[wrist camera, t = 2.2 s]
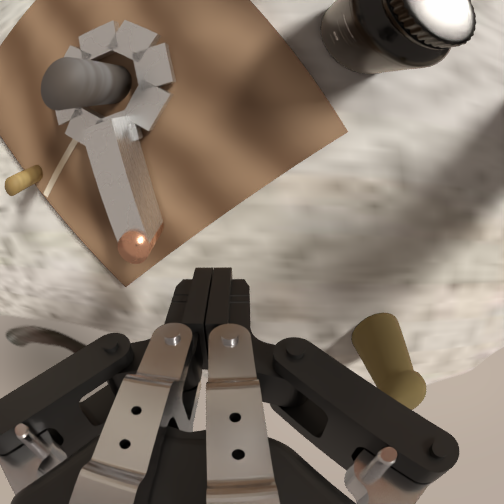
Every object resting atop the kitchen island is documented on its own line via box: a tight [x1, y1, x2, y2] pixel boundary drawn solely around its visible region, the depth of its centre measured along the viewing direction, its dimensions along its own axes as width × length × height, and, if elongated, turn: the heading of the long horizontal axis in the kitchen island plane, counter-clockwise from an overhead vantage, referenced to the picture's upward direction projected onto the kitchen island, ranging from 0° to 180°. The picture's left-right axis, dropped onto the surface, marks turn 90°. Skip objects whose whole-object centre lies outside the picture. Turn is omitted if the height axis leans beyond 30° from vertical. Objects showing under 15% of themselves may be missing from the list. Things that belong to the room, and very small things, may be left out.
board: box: [0, 0, 348, 287], centre depth 16 cm, size 24×28×9 cm
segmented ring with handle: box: [55, 20, 176, 264], centre depth 18 cm, size 18×10×4 cm, turn 11°
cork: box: [352, 313, 426, 410], centre depth 28 cm, size 6×6×11 cm
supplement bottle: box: [321, 0, 476, 74], centre depth 13 cm, size 7×7×12 cm
